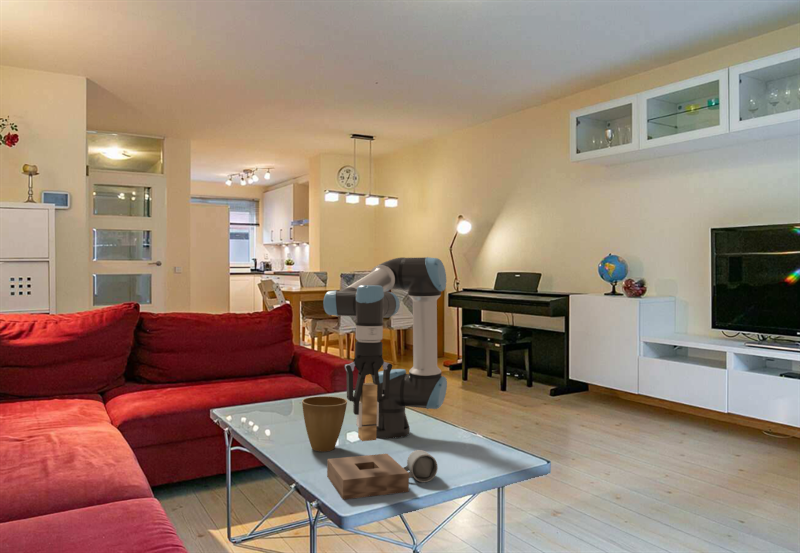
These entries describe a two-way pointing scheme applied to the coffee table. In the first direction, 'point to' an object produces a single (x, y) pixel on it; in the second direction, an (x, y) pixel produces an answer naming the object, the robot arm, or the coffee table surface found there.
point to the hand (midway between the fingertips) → (367, 425)
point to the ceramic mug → (421, 466)
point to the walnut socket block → (367, 476)
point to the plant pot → (323, 420)
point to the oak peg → (368, 412)
